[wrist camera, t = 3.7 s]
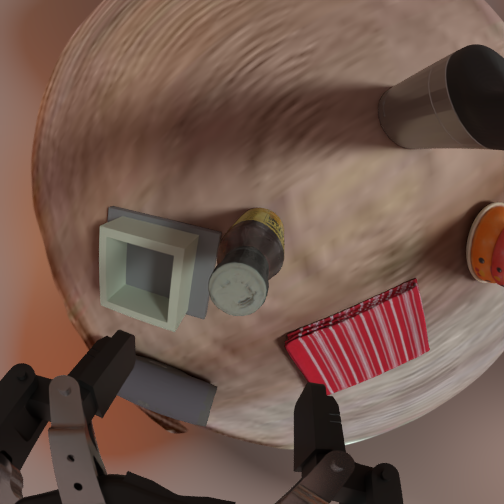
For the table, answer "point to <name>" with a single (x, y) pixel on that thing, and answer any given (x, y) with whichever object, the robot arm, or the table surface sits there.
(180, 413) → the bluetooth speaker
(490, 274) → the stacking toy
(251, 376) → the table surface
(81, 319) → the table surface
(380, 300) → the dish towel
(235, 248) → the sauce bottle
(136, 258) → the bottle jig
